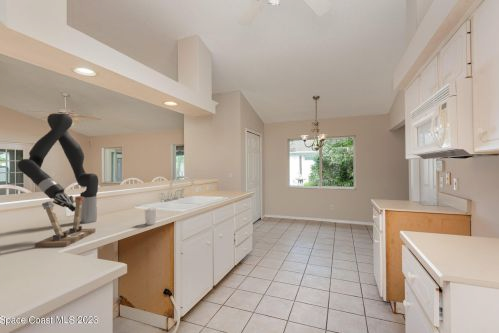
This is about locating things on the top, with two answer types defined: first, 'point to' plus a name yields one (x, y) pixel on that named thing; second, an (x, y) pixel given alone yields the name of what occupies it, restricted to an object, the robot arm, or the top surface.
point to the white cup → (151, 216)
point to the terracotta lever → (77, 211)
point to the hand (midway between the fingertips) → (74, 210)
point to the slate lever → (53, 217)
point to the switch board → (65, 238)
